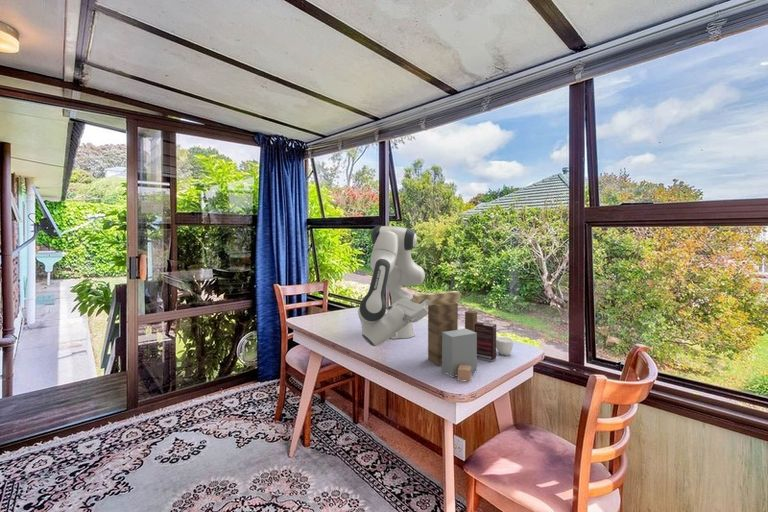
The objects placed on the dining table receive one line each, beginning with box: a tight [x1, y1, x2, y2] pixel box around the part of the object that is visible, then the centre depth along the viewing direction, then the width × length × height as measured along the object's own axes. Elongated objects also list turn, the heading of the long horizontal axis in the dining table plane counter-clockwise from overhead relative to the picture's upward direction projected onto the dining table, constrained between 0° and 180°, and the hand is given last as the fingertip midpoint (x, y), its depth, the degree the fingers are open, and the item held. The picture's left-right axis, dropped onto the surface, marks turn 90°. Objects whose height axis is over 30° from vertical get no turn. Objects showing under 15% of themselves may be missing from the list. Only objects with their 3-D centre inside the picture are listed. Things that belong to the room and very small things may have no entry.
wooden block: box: [464, 310, 478, 332], centre depth 161 cm, size 9×4×18 cm, turn 137°
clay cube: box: [457, 365, 472, 382], centre depth 128 cm, size 4×4×4 cm
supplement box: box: [475, 321, 497, 362], centre depth 148 cm, size 9×5×16 cm, turn 52°
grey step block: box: [441, 328, 478, 377], centre depth 135 cm, size 12×7×16 cm, turn 114°
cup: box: [496, 336, 514, 356], centre depth 155 cm, size 8×10×7 cm
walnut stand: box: [427, 302, 459, 367], centre depth 145 cm, size 10×8×26 cm
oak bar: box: [412, 290, 461, 307], centre depth 143 cm, size 22×4×4 cm, turn 114°
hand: (423, 298), depth 140 cm, fingers open, 6 cm apart
